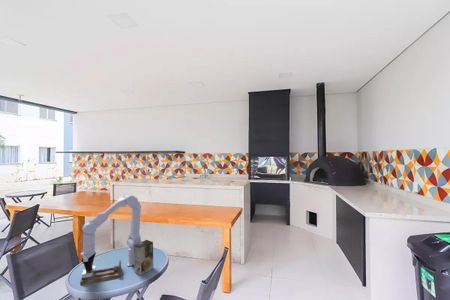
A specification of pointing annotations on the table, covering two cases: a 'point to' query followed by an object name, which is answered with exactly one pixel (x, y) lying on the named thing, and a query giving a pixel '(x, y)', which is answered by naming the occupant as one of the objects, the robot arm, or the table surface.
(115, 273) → the nut press
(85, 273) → the press carriage
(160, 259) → the table surface
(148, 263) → the coffee box
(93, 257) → the robot arm
